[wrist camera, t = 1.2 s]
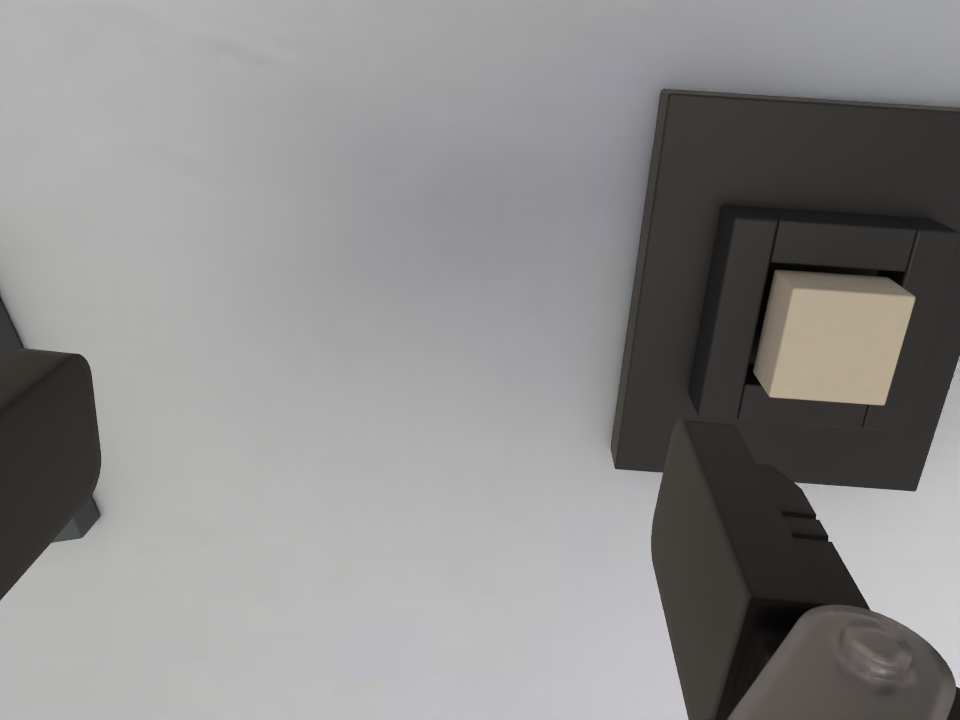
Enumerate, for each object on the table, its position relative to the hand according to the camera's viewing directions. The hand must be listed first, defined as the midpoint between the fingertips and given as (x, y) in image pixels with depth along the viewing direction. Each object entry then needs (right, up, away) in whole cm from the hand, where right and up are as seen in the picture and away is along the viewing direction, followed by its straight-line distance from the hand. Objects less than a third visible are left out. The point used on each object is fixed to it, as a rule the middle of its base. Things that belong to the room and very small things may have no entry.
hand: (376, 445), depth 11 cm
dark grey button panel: (+11, +3, +14) cm, 19 cm away
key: (+11, +2, +12) cm, 17 cm away
